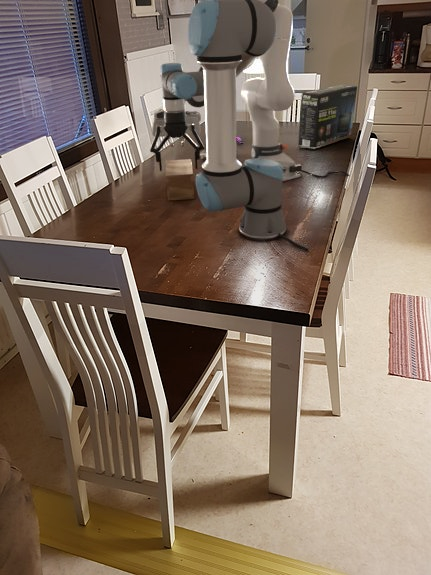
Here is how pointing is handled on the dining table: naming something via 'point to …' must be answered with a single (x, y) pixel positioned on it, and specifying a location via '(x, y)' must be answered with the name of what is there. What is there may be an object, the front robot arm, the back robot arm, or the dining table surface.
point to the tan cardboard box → (179, 179)
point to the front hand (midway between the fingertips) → (178, 169)
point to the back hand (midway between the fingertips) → (177, 146)
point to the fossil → (204, 154)
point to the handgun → (239, 140)
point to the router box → (326, 115)
